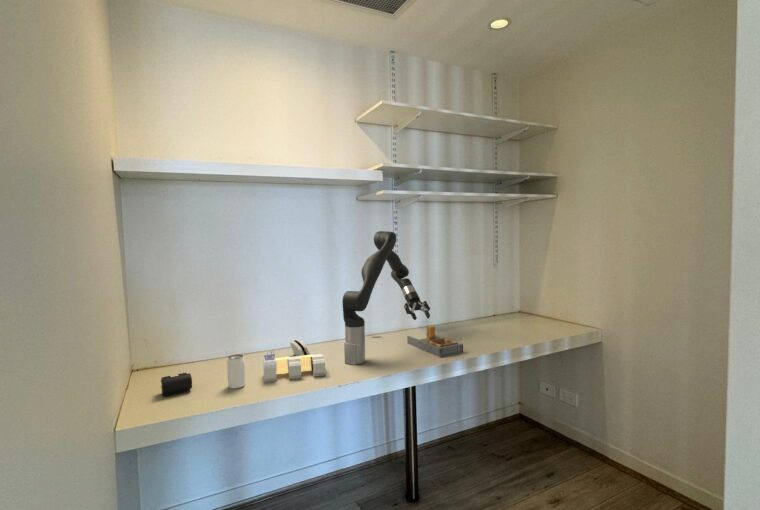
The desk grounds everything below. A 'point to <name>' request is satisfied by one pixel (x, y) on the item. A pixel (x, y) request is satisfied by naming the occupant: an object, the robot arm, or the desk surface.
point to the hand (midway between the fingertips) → (422, 318)
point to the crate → (437, 342)
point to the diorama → (292, 366)
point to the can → (236, 371)
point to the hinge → (299, 348)
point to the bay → (433, 349)
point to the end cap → (176, 384)
